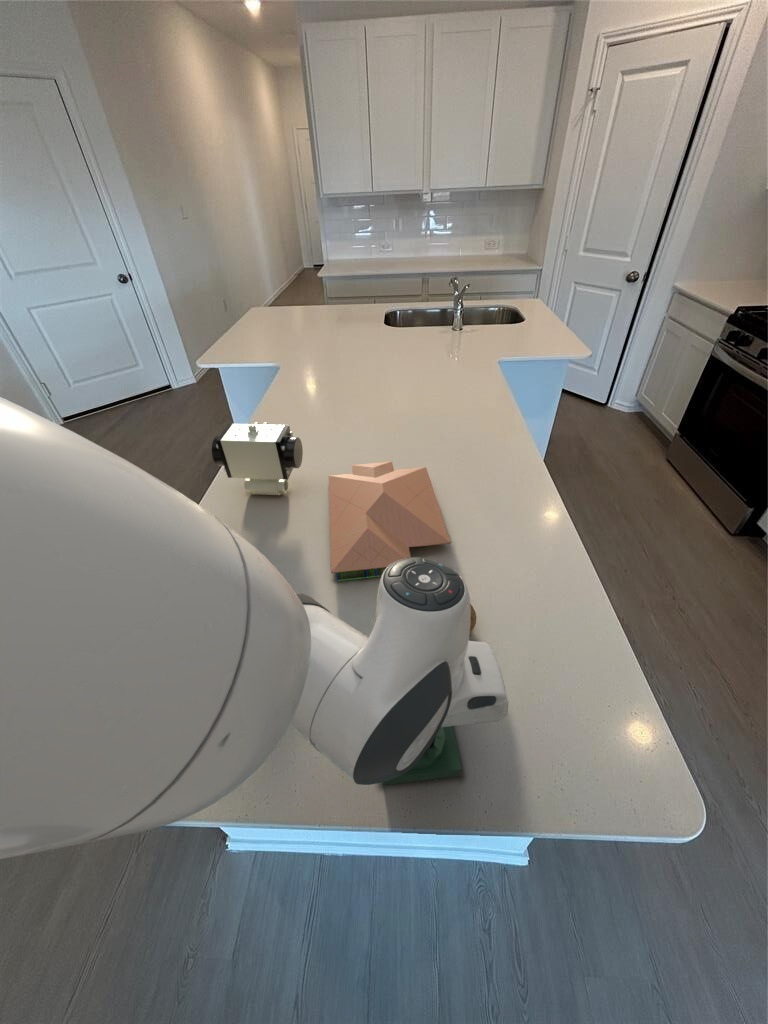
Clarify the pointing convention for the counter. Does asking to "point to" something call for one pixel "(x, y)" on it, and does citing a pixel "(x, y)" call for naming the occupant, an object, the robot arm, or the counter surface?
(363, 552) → the house
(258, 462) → the ball valve
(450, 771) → the control block
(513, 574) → the counter surface
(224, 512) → the counter surface
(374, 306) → the counter surface
